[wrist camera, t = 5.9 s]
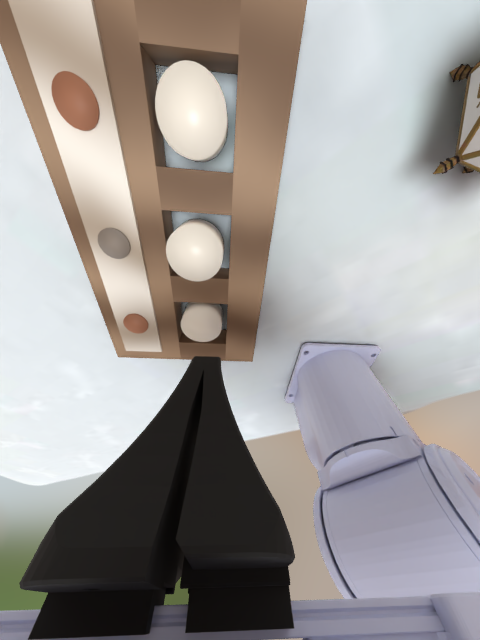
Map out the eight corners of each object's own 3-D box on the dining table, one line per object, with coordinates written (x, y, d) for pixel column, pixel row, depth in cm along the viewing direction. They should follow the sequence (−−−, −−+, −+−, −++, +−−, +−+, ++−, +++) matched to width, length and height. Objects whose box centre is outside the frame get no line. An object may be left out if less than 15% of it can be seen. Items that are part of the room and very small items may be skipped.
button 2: (222, 328, 19) (221, 342, 17) (187, 326, 19) (182, 341, 17) (223, 297, 17) (222, 310, 15) (184, 295, 17) (178, 308, 15)
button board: (250, 346, 21) (252, 364, 19) (127, 342, 20) (116, 360, 18) (296, 13, 9) (313, -31, 7) (10, -27, 8) (-57, -87, 6)
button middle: (223, 270, 14) (222, 282, 13) (177, 267, 14) (169, 279, 13) (224, 220, 13) (223, 227, 11) (171, 216, 12) (162, 223, 11)
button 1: (226, 164, 12) (225, 162, 10) (171, 159, 12) (160, 156, 10) (229, 83, 10) (228, 65, 8) (163, 75, 10) (149, 55, 8)
